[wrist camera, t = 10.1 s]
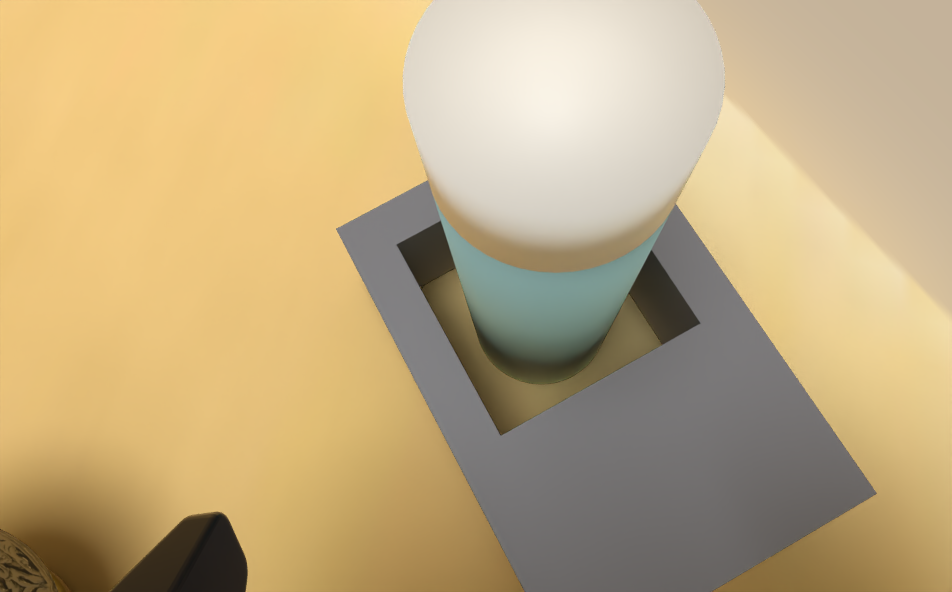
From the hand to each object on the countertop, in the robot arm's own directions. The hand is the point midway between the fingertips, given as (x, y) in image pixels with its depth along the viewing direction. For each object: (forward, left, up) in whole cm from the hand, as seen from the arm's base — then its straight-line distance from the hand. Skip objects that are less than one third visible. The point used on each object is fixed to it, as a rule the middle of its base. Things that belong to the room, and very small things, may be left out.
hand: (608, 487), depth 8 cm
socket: (+2, -2, -12) cm, 13 cm away
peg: (+4, -2, -12) cm, 13 cm away
